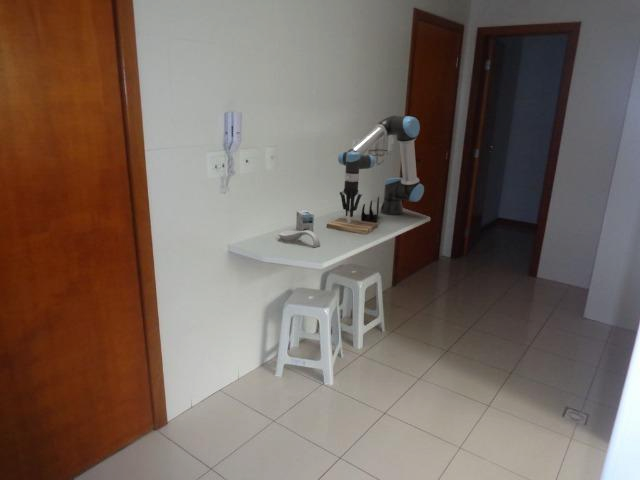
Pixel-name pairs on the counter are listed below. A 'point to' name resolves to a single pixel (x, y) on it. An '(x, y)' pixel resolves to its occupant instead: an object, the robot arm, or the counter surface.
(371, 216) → the letter holder
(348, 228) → the oak plank
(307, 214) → the light bulb box
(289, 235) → the white curved piece
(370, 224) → the walnut board
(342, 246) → the counter surface
